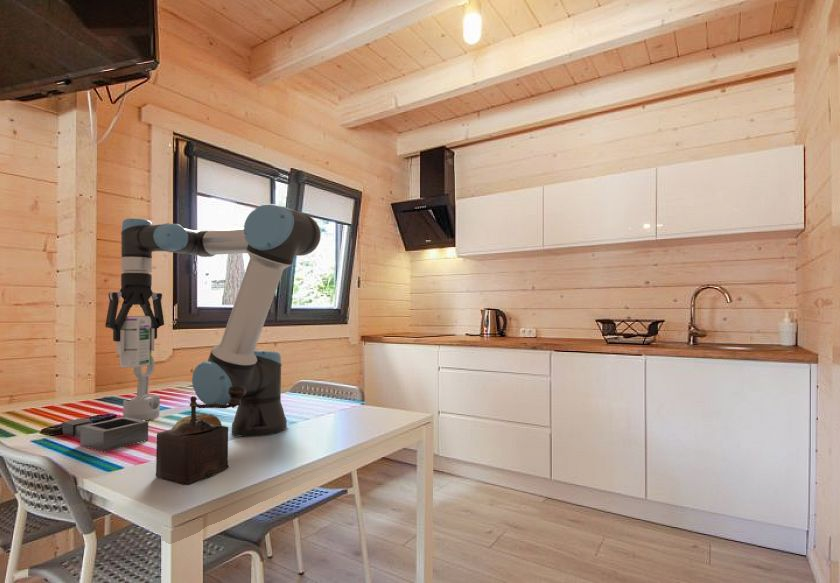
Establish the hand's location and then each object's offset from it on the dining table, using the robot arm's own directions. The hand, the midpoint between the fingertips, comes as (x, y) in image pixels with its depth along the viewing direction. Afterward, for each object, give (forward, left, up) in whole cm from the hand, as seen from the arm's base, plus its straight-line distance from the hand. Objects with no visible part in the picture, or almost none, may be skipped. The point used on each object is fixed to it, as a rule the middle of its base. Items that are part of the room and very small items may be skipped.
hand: (135, 351), depth 129 cm
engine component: (+15, -11, -23) cm, 30 cm away
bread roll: (-27, -1, -23) cm, 36 cm away
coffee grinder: (-44, +9, -23) cm, 51 cm away
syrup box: (0, 0, -4) cm, 4 cm away
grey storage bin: (+3, +8, -23) cm, 25 cm away
